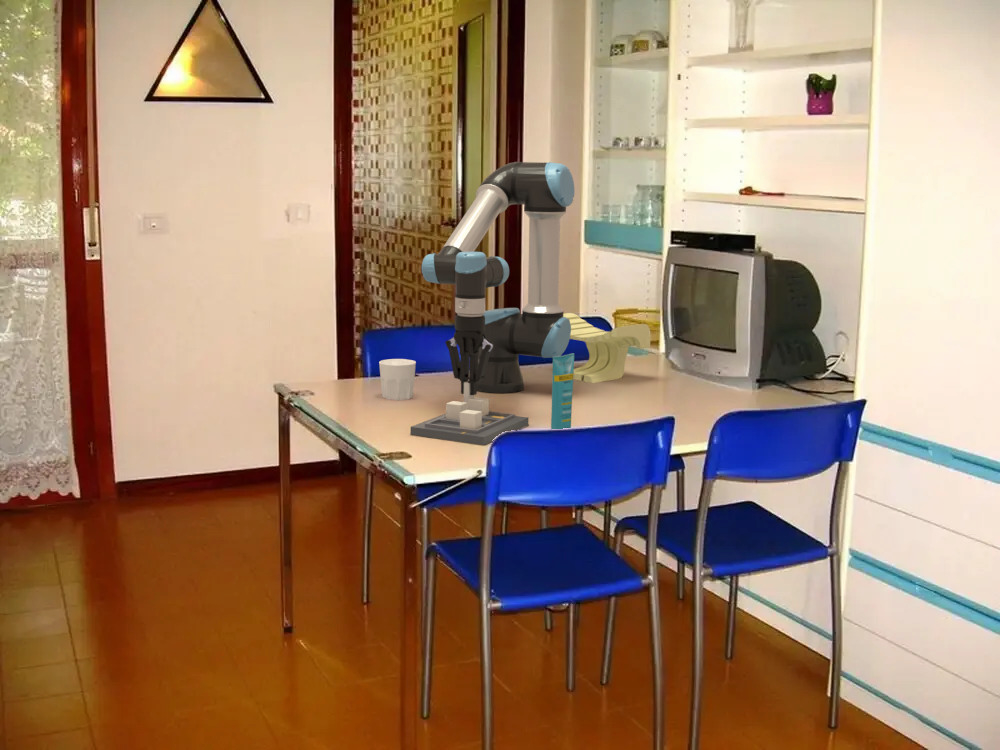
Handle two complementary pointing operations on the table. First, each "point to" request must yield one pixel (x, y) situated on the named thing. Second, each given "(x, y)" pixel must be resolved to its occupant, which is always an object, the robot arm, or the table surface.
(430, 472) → the table surface
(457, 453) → the table surface
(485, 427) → the switch board
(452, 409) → the tab mid
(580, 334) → the slatted curved stool
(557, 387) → the tube
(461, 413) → the white cube
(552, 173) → the robot arm
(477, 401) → the tab far
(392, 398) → the cup
